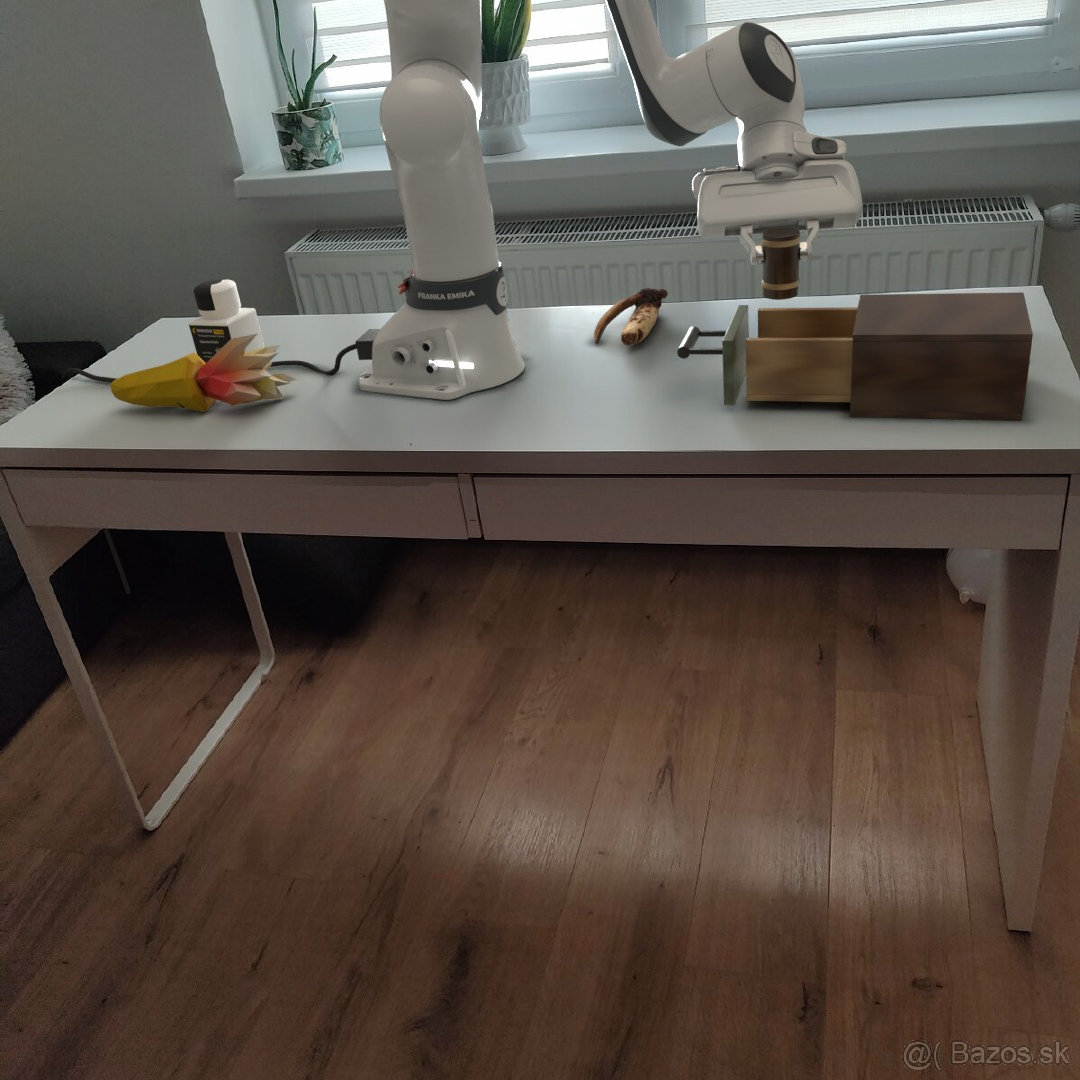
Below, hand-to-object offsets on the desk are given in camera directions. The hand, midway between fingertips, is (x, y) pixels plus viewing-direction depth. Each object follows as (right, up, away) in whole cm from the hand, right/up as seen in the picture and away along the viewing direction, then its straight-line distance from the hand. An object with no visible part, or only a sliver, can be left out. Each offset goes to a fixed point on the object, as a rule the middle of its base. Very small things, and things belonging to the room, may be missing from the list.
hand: (781, 260), depth 132 cm
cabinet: (+15, -18, -11) cm, 26 cm away
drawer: (-2, -16, -6) cm, 17 cm away
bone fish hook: (-17, -5, +19) cm, 26 cm away
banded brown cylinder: (0, -4, +3) cm, 4 cm away
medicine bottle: (-76, -8, +28) cm, 81 cm away
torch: (-75, -17, +13) cm, 78 cm away
